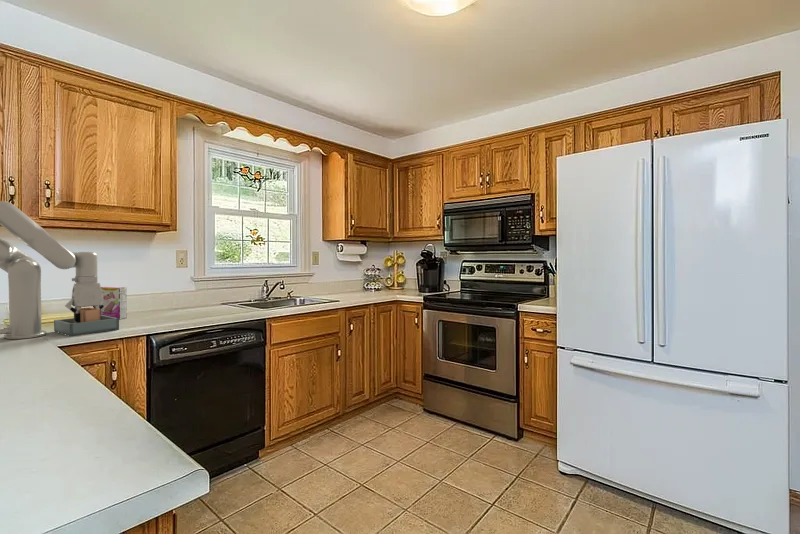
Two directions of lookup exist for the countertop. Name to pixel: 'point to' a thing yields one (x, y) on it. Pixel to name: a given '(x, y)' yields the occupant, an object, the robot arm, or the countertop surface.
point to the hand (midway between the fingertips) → (87, 321)
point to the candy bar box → (114, 302)
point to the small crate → (89, 314)
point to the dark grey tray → (86, 326)
